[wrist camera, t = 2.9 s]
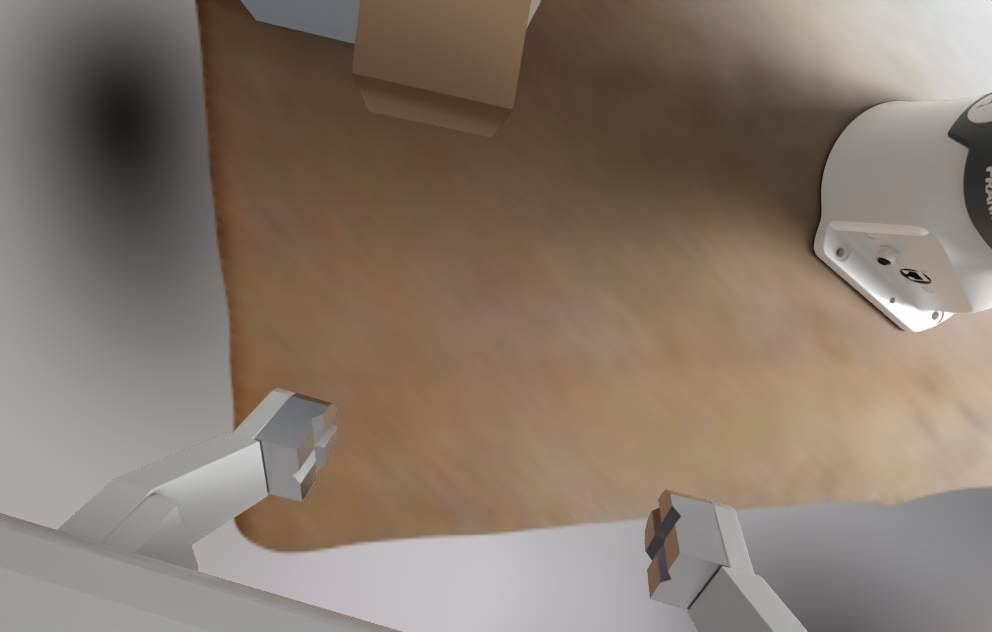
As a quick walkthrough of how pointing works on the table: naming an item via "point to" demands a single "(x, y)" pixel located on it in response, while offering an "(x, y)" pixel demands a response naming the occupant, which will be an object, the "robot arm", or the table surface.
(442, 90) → the beam
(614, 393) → the table surface
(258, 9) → the stand
